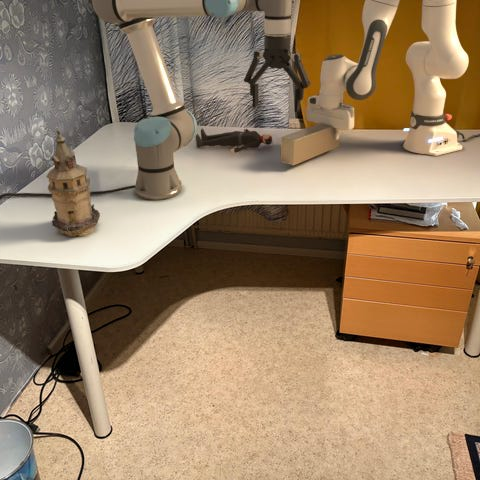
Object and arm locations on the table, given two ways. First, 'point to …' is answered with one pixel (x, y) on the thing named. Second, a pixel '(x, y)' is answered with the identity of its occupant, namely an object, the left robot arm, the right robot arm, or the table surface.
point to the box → (308, 143)
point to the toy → (234, 140)
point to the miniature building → (70, 193)
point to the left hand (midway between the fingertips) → (276, 108)
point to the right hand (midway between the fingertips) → (328, 136)
